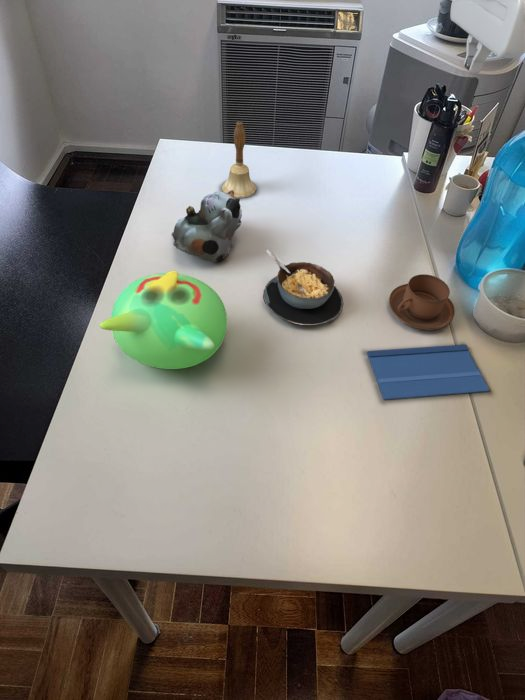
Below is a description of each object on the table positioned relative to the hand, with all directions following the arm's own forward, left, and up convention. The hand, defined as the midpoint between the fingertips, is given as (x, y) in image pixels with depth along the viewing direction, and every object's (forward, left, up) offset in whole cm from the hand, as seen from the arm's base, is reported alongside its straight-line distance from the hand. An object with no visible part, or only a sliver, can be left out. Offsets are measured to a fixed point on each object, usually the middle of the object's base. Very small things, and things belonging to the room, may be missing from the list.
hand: (470, 70), depth 78 cm
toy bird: (+52, +28, -34) cm, 68 cm away
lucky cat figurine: (+45, -1, -34) cm, 57 cm away
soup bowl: (+28, +17, -34) cm, 47 cm away
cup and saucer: (+6, +22, -34) cm, 41 cm away
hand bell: (+36, -23, -34) cm, 55 cm away
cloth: (+10, +36, -34) cm, 51 cm away
